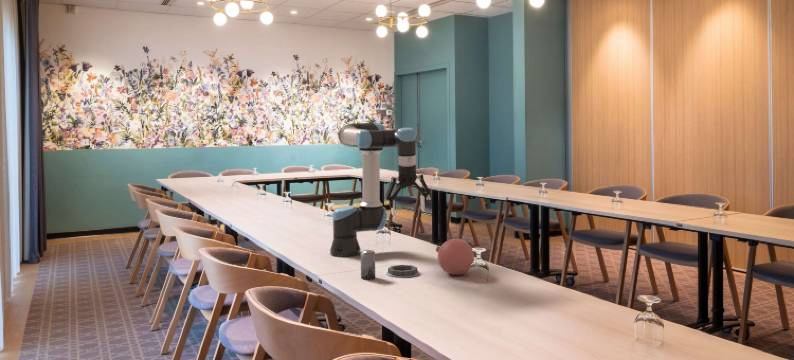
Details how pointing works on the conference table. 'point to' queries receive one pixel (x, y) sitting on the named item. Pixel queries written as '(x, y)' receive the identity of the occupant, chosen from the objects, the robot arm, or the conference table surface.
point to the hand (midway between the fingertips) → (408, 212)
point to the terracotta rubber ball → (455, 256)
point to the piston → (367, 265)
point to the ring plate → (402, 271)
